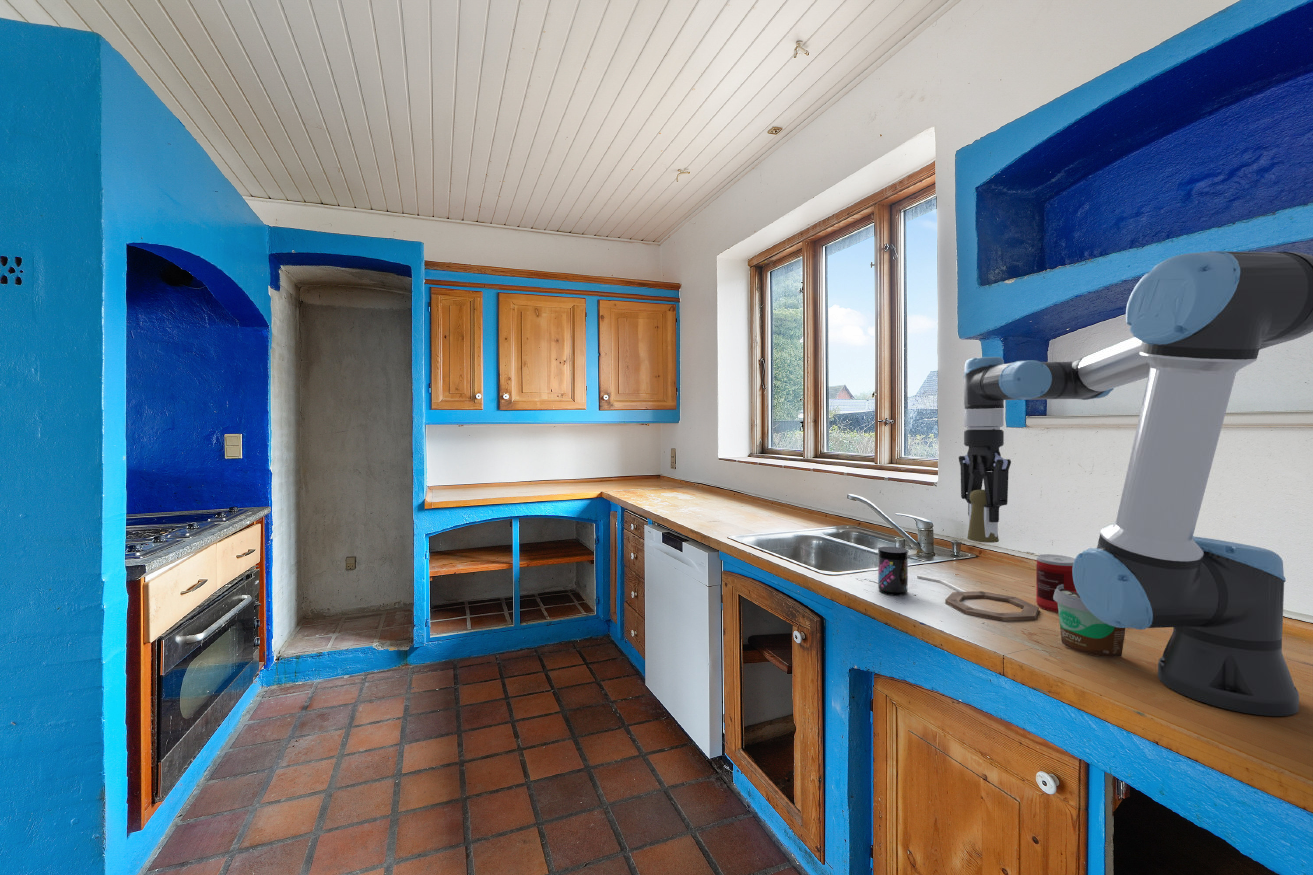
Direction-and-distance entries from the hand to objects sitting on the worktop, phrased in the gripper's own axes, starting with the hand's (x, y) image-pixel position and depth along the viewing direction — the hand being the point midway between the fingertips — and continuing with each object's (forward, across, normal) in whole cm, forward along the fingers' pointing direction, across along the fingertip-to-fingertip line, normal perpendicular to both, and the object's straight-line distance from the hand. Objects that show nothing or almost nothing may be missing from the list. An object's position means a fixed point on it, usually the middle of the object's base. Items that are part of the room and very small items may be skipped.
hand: (983, 534), depth 123 cm
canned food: (+17, -2, -16) cm, 24 cm away
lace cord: (+16, +17, -2) cm, 24 cm away
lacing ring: (+17, +1, -3) cm, 17 cm away
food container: (+17, -22, -3) cm, 28 cm away
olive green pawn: (+1, 0, 0) cm, 1 cm away
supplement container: (+17, +14, +13) cm, 26 cm away
